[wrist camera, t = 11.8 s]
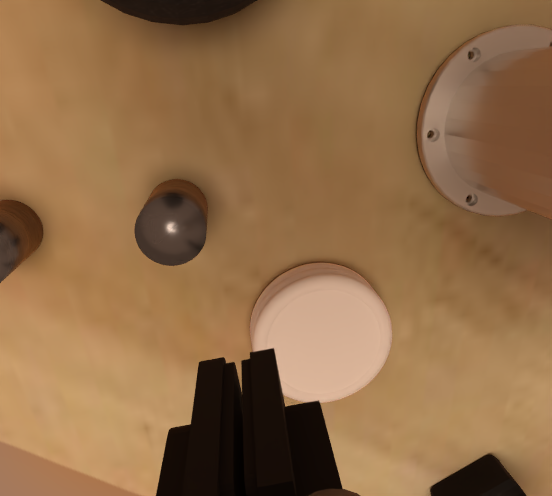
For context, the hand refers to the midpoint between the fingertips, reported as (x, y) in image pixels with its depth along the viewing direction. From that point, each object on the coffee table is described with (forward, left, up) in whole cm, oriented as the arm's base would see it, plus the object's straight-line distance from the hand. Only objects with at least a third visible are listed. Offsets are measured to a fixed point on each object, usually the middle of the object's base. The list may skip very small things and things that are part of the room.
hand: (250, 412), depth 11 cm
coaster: (-5, +11, -25) cm, 28 cm away
